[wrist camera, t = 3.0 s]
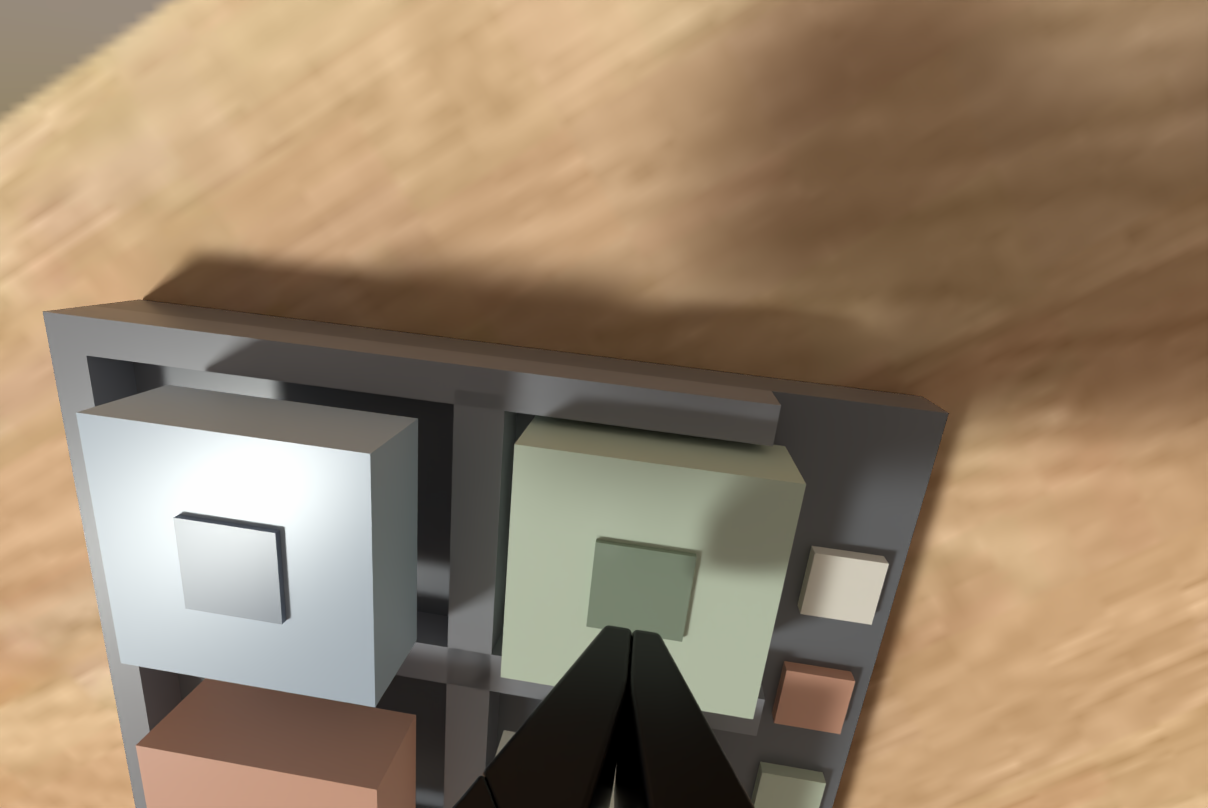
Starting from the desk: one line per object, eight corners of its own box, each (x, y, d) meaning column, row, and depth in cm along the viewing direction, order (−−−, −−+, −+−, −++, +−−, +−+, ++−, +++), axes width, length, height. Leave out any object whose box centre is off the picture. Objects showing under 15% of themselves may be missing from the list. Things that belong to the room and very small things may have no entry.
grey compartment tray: (922, 396, 12) (974, 430, 10) (792, 864, 16) (810, 956, 14) (139, 299, 14) (42, 311, 11) (201, 755, 18) (139, 825, 16)
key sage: (785, 446, 11) (807, 487, 9) (741, 654, 13) (753, 724, 11) (537, 413, 12) (512, 447, 10) (522, 618, 13) (498, 681, 11)
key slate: (418, 418, 11) (366, 456, 9) (416, 640, 12) (372, 712, 10) (168, 384, 11) (68, 414, 9) (195, 604, 12) (114, 668, 11)
